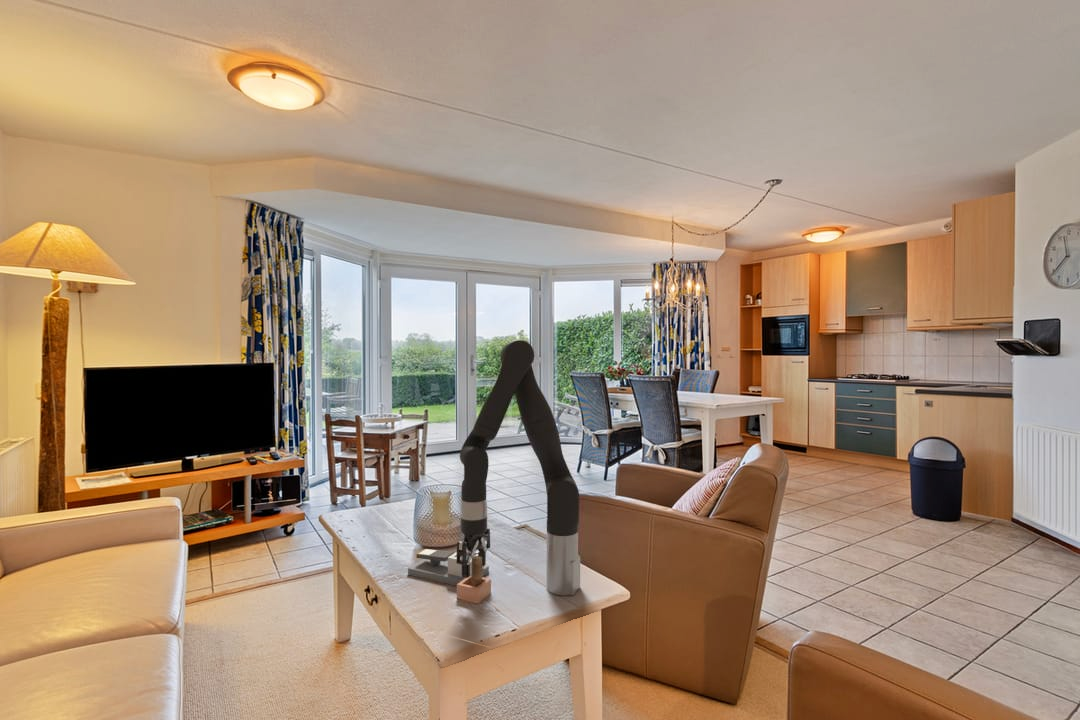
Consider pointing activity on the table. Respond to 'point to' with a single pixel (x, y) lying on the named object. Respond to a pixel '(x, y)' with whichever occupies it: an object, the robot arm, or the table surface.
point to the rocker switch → (434, 555)
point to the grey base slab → (443, 570)
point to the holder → (473, 590)
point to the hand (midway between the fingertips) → (474, 571)
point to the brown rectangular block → (476, 571)
